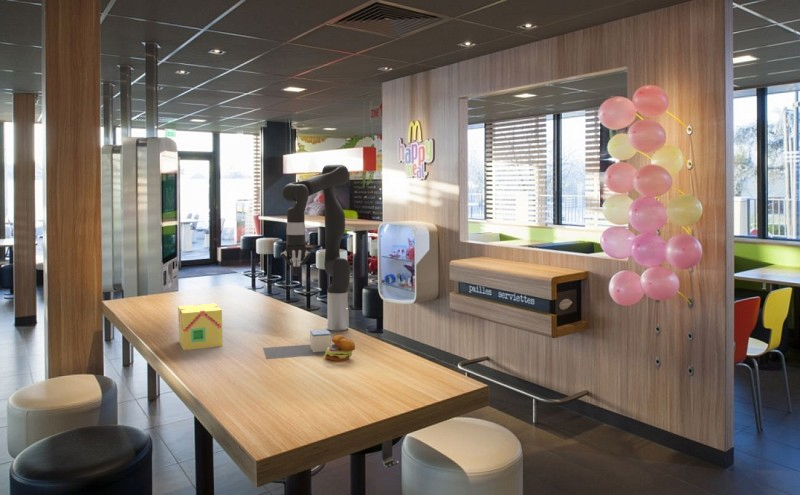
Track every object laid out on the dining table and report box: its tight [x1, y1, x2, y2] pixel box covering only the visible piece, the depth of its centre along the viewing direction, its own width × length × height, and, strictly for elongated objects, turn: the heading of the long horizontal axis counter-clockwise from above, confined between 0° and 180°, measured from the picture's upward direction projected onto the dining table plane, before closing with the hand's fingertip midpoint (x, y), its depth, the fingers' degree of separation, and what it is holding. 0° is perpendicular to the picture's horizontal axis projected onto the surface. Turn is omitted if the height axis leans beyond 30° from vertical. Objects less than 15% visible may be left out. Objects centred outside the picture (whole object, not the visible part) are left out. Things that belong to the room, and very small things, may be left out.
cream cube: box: [309, 329, 332, 352], centre depth 234 cm, size 7×7×7 cm
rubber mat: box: [262, 344, 326, 360], centre depth 232 cm, size 27×16×1 cm, turn 108°
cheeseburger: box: [323, 334, 356, 362], centre depth 222 cm, size 10×11×10 cm
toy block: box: [177, 302, 223, 351], centre depth 241 cm, size 15×15×15 cm
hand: (296, 275), depth 239 cm, fingers closed
